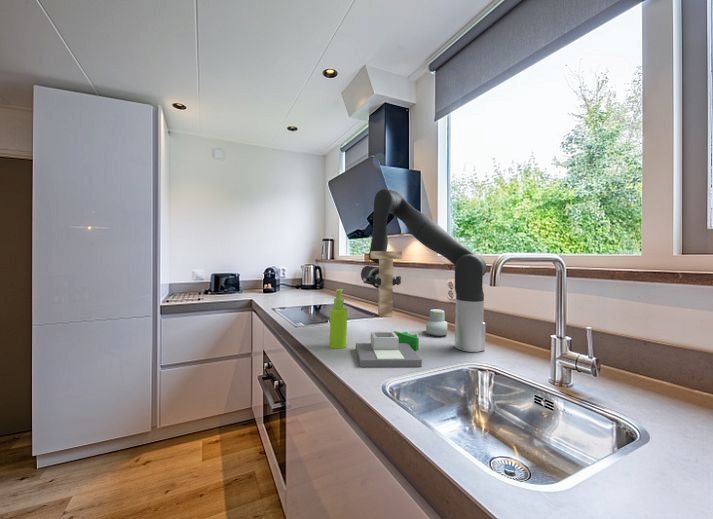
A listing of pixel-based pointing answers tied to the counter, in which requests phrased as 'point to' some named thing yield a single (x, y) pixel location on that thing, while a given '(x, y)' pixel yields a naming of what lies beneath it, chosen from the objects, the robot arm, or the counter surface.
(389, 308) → the T-key
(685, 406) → the counter surface
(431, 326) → the air freshener
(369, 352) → the grey base plate
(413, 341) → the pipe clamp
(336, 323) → the soap dispenser
